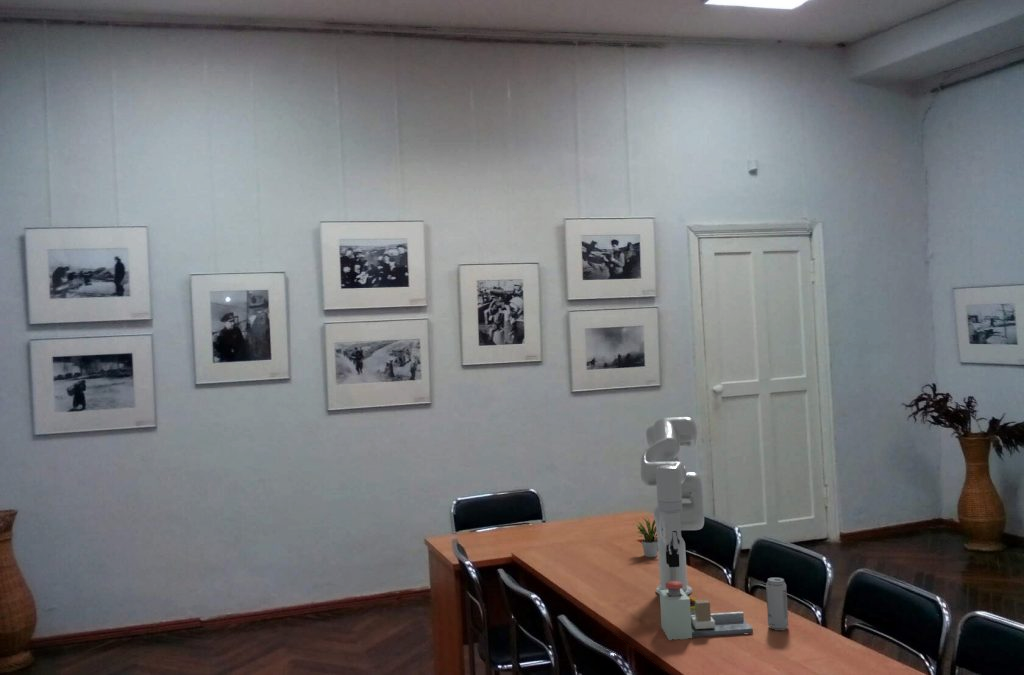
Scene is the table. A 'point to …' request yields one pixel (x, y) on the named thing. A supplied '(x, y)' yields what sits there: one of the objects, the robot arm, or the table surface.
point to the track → (724, 625)
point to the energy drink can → (777, 603)
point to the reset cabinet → (675, 615)
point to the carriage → (702, 615)
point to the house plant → (649, 539)
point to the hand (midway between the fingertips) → (672, 564)
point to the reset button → (673, 588)
